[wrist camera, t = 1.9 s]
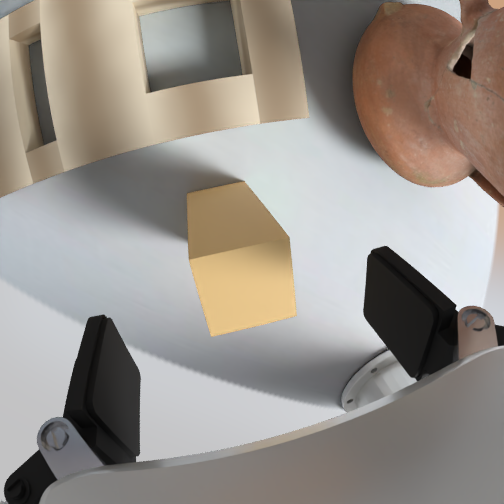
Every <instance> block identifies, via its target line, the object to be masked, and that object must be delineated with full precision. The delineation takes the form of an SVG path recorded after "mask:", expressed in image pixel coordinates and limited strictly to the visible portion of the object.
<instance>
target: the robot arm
mask: <svg viewBox="0 0 504 504" xmlns="http://www.w3.org/2000/svg"><path fill="white" fill-rule="evenodd" d="M455 308H456V304H455V303H453V302H452V301H451V300H450V299H449V298H448V297H447V296H446V295H445V294H443V293H442V292H441V291H440V290H439V289H438V288H437V287H436V286H434V285H433V284H432V283H431V282H430V281H429V280H427V279H426V278H425V277H424V276H423V275H422V274H420V273H419V272H418V271H417V270H416V269H415V268H413V267H412V266H411V265H410V264H409V263H407V262H406V261H405V260H404V259H402V258H401V257H400V256H399V255H398V254H396V253H395V252H394V251H393V250H391V249H390V248H389V247H387V246H383V247H379V248H376V249H373V250H372V251H371V254H369V255H368V258H367V273H366V287H365V299H364V309H363V312H364V317H365V319H366V320H367V321H368V323H369V324H370V325H371V327H372V328H373V329H374V330H375V332H376V333H377V334H378V336H379V337H380V338H381V339H382V341H383V342H384V343H385V345H386V346H387V347H388V349H389V350H388V351H386V352H384V353H382V354H381V355H379V356H377V357H376V358H374V359H373V360H371V361H370V362H368V363H367V364H366V365H365V366H363V367H362V368H361V369H360V370H359V371H358V372H357V373H356V374H355V375H354V376H353V377H352V379H351V380H350V381H349V382H348V384H347V386H346V387H345V389H344V391H343V393H342V398H341V402H342V406H343V408H344V410H345V411H346V412H347V413H345V414H343V415H340V416H337V417H334V418H332V419H329V420H326V421H323V422H321V423H318V424H315V425H311V426H308V427H305V428H302V429H299V430H296V431H292V432H289V433H286V434H282V435H279V436H275V437H272V438H268V439H264V440H260V441H256V442H252V443H248V444H244V445H240V446H236V447H231V448H227V449H221V450H217V451H211V452H206V453H200V454H194V455H188V456H181V457H174V458H168V459H161V460H153V461H143V462H136V456H139V454H140V423H139V422H140V415H139V414H140V379H141V378H140V372H139V369H138V367H137V366H136V364H135V362H134V360H133V359H132V357H131V355H130V353H129V351H128V349H127V348H126V346H125V344H124V342H123V340H122V338H121V336H120V334H119V333H118V331H117V329H116V327H115V325H114V323H113V321H112V319H111V318H107V317H106V316H105V315H99V316H94V317H90V318H89V319H88V321H87V324H86V328H85V331H84V335H83V338H82V342H81V346H80V349H79V353H78V357H77V359H76V361H75V364H74V368H73V372H72V376H71V381H70V386H69V390H68V394H67V399H66V404H65V409H64V414H63V417H56V418H52V419H50V420H48V421H46V422H45V423H44V424H43V425H42V426H41V428H40V430H39V432H38V435H37V444H38V447H39V450H38V451H37V452H36V453H35V454H34V455H32V456H31V457H30V458H29V459H28V460H27V461H26V462H25V463H24V464H23V465H21V466H20V467H19V468H18V469H17V470H16V471H15V472H14V473H13V474H11V475H10V476H9V478H8V479H7V481H6V483H5V487H4V495H5V498H6V502H3V501H1V503H0V504H504V326H499V325H495V324H494V320H493V317H492V316H491V315H490V313H489V312H487V311H486V310H485V309H483V308H481V307H477V306H467V307H464V308H462V309H461V310H460V311H459V312H458V311H456V310H455Z"/></svg>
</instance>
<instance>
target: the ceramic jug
mask: <svg viewBox="0 0 504 504" xmlns="http://www.w3.org/2000/svg"><path fill="white" fill-rule="evenodd" d="M459 1H460V5H461V22H462V23H461V22H459V21H458V20H457V19H455V18H454V17H452V16H451V15H449V14H448V13H446V12H444V11H442V10H440V9H437V8H434V7H431V6H427V5H421V4H405V5H403V4H402V3H400V2H385V3H383V4H382V5H381V6H380V7H379V10H378V12H377V14H376V16H375V17H374V19H373V21H372V22H371V23H370V24H369V26H368V27H367V29H366V30H365V32H364V33H363V35H362V37H361V39H360V42H359V44H358V47H357V50H356V53H355V58H354V63H353V76H352V77H353V94H354V100H355V105H356V109H357V113H358V116H359V120H360V123H361V125H362V128H363V130H364V132H365V134H366V136H367V138H368V140H369V142H370V143H371V145H372V146H373V148H374V149H375V151H376V152H377V154H378V155H379V156H380V157H381V158H382V160H383V161H384V162H385V163H386V164H387V165H388V166H389V167H390V168H391V169H392V170H393V171H395V172H396V173H397V174H399V175H400V176H401V177H403V178H405V179H406V180H408V181H410V182H412V183H415V184H418V185H421V186H427V187H443V186H448V185H452V184H454V183H457V182H459V181H461V180H463V179H464V178H466V177H467V176H469V177H470V178H472V179H473V180H474V181H475V182H476V183H477V184H478V185H479V186H480V187H481V188H482V189H483V190H484V191H485V192H486V193H487V194H489V195H490V196H491V197H492V198H493V199H494V200H495V201H497V202H498V203H499V204H500V205H502V206H503V207H504V7H503V8H500V9H494V8H492V7H491V6H490V5H489V3H488V0H459Z"/></svg>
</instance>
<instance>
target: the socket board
mask: <svg viewBox="0 0 504 504" xmlns="http://www.w3.org/2000/svg"><path fill="white" fill-rule="evenodd" d="M220 1H230V3H231V9H232V15H233V21H234V26H235V32H236V38H237V44H238V50H239V56H240V62H241V68H242V75H240V76H233V77H226V78H220V79H214V80H208V81H202V82H197V83H191V84H186V85H182V86H177V87H172V88H168V89H164V90H159V91H155V92H151V91H150V85H149V79H148V73H147V67H146V61H145V55H144V48H143V41H142V34H141V27H140V20H139V16H142V15H146V14H151V13H155V12H159V11H164V10H169V9H174V8H179V7H185V6H191V5H197V4H204V3H212V2H220ZM39 40H41V42H42V53H43V63H44V71H45V79H46V86H47V92H48V99H49V104H50V110H51V115H52V120H53V125H54V130H55V135H56V139H57V140H56V141H54V142H51V143H49V144H46V145H44V142H43V138H42V133H41V128H40V124H39V118H38V113H37V107H36V102H35V95H34V89H33V81H32V73H31V65H30V54H29V45H30V44H32V43H34V42H36V41H39ZM301 118H309V112H308V104H307V97H306V89H305V82H304V75H303V68H302V62H301V55H300V49H299V43H298V37H297V32H296V26H295V20H294V15H293V10H292V5H291V0H34V1H32V2H30V3H28V4H26V5H24V6H23V7H21V8H19V9H17V10H15V11H14V12H12V13H10V14H8V15H7V16H5V17H3V18H2V19H0V198H1V197H3V196H5V195H7V194H10V193H12V192H14V191H17V190H19V189H21V188H24V187H26V186H29V185H31V184H34V183H36V182H39V181H41V180H44V179H47V178H49V177H52V176H55V175H57V174H60V173H63V172H66V171H69V170H71V169H74V168H77V167H80V166H83V165H86V164H89V163H92V162H96V161H99V160H102V159H105V158H108V157H112V156H115V155H119V154H122V153H126V152H129V151H133V150H136V149H140V148H144V147H148V146H152V145H155V144H159V143H164V142H168V141H172V140H176V139H181V138H185V137H190V136H194V135H199V134H204V133H209V132H214V131H220V130H225V129H231V128H236V127H242V126H248V125H255V124H262V123H269V122H276V121H284V120H292V119H301Z"/></svg>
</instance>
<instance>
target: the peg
mask: <svg viewBox="0 0 504 504" xmlns="http://www.w3.org/2000/svg"><path fill="white" fill-rule="evenodd" d="M187 223H188V252H189V262H190V266H191V269H192V273H193V277H194V280H195V284H196V287H197V291H198V294H199V298H200V301H201V305H202V308H203V311H204V315H205V318H206V321H207V325H208V328H209V331H210V334H211V337H213V336H217V335H222V334H226V333H230V332H235V331H239V330H243V329H247V328H251V327H256V326H260V325H264V324H268V323H271V322H275V321H279V320H283V319H287V318H291V317H294V316H297V314H296V302H295V290H294V279H293V269H292V258H291V248H290V238H289V236H288V235H287V234H286V232H285V231H284V230H283V229H282V227H281V226H280V225H279V223H278V222H277V221H276V220H275V218H274V217H273V216H272V215H271V213H270V212H269V211H268V210H267V208H266V207H265V206H264V205H263V204H262V202H261V201H260V200H259V199H258V197H257V196H256V195H255V194H254V192H253V191H252V190H251V189H250V187H249V186H248V185H247V184H246V183H245V181H243V182H237V183H232V184H228V185H223V186H218V187H213V188H209V189H204V190H199V191H195V192H191V193H187Z"/></svg>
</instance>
